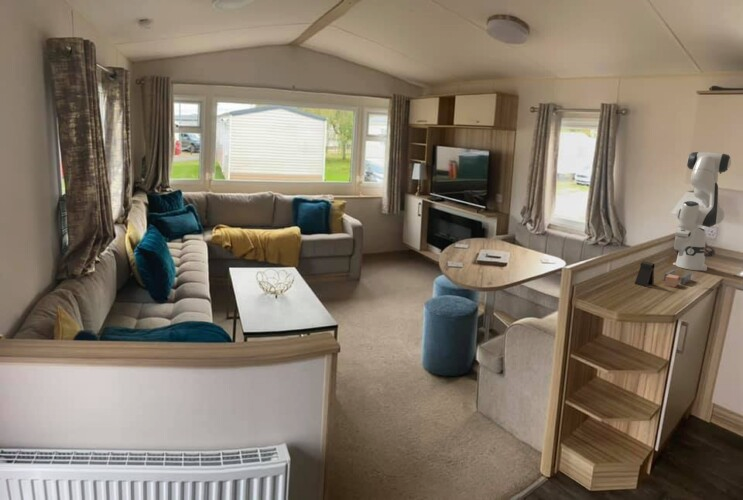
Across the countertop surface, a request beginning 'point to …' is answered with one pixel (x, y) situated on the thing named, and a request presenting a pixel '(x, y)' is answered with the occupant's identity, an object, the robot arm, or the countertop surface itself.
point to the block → (671, 280)
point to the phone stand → (645, 274)
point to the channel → (683, 279)
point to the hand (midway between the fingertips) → (680, 255)
